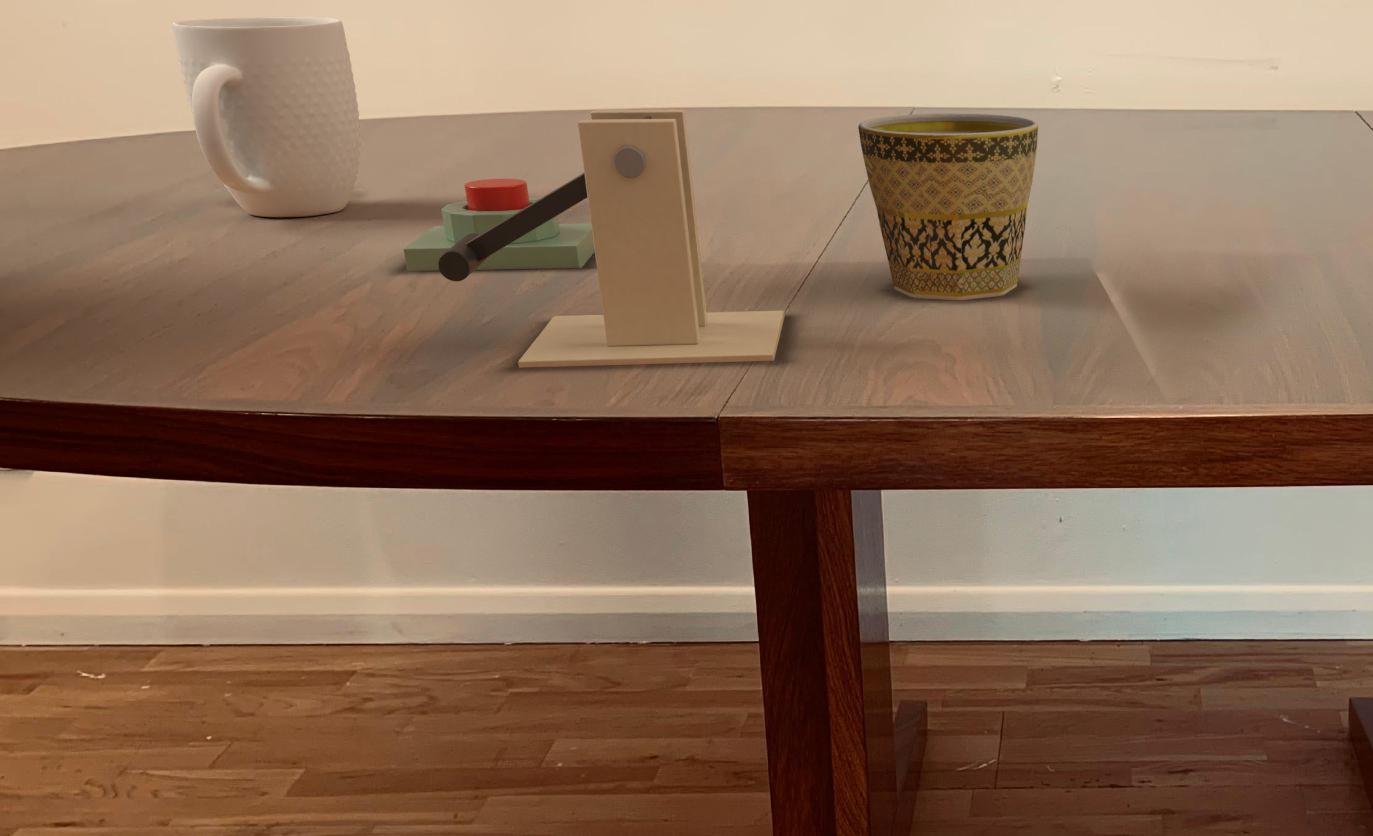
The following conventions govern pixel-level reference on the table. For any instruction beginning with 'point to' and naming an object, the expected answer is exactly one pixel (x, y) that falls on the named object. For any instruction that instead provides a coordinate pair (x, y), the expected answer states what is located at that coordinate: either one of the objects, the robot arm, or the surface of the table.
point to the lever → (509, 230)
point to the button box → (530, 251)
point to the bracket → (647, 258)
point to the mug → (274, 110)
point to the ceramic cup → (951, 199)
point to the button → (497, 195)
